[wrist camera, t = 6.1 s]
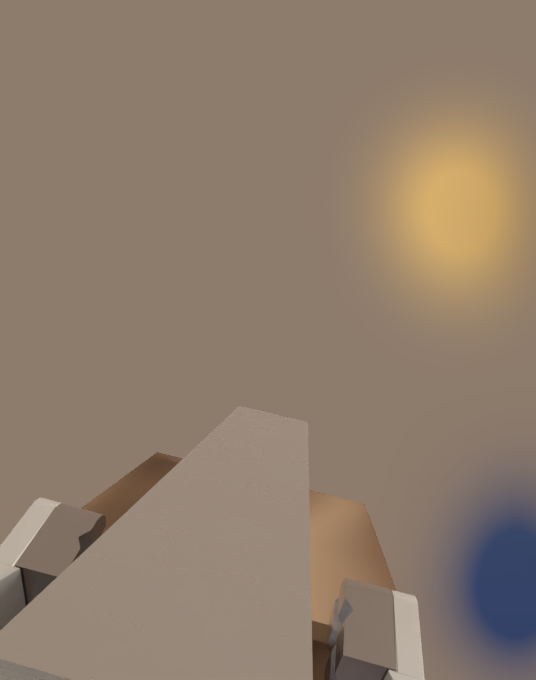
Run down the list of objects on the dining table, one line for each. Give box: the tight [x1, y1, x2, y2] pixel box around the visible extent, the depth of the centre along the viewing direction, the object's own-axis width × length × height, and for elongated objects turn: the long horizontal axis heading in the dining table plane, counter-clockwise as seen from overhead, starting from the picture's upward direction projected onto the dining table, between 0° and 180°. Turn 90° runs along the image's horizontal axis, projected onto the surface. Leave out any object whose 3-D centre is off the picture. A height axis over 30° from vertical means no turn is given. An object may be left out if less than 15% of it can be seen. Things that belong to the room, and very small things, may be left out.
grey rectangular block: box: [0, 406, 313, 680], centre depth 15 cm, size 4×20×4 cm, turn 175°
